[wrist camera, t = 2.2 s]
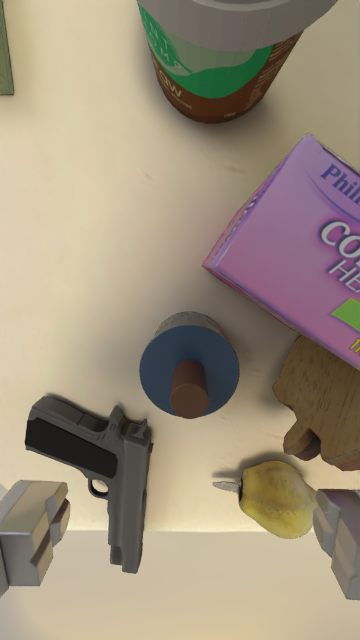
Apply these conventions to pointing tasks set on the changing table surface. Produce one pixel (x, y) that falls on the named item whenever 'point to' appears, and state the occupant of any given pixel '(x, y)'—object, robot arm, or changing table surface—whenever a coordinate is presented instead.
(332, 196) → the box
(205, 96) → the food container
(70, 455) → the handgun
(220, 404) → the lid
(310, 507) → the fruit
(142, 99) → the changing table surface
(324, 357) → the wooden carving
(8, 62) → the tray
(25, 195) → the changing table surface
